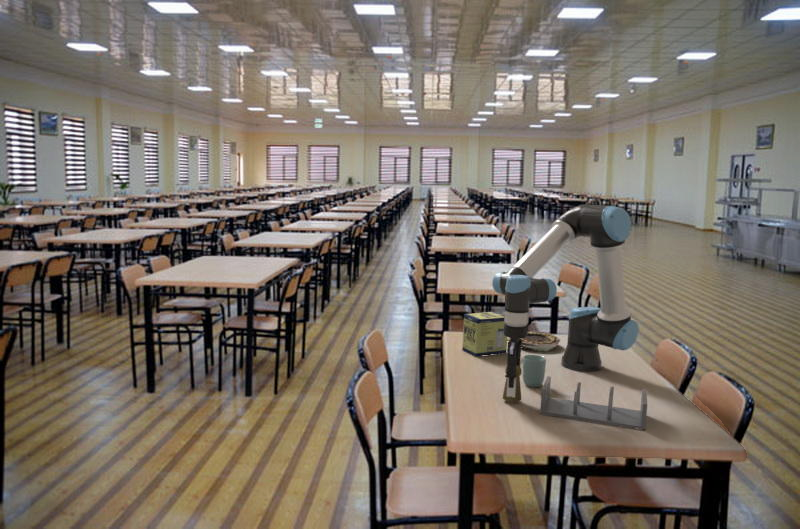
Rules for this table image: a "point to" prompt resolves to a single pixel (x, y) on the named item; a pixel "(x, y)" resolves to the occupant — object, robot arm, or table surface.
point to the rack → (593, 409)
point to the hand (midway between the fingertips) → (512, 394)
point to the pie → (539, 341)
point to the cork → (518, 389)
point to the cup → (533, 370)
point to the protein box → (484, 334)
